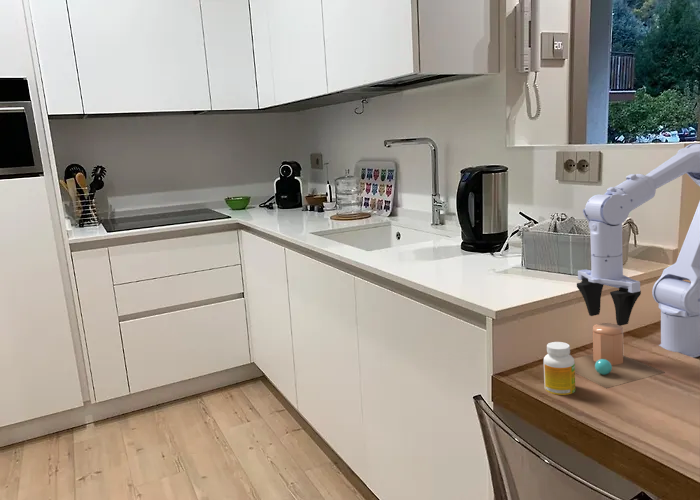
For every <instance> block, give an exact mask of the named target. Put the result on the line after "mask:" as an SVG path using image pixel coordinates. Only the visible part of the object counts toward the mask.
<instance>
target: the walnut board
mask: <svg viewBox="0 0 700 500" xmlns="http://www.w3.org/2000/svg"><path fill="white" fill-rule="evenodd" d="M573 358H574V357H573ZM574 362H575V375H579V376H580V377H582V378H584V379H586V380H587V381H588V380H589V381H590V382H593V383H595V384H597V385H599V386H600V387H603V388H604V389H609V388H613V387H617V386H620V385H624V384H627V383H631V382H635V381H638V380H642V379H646V378H650V377H653V376H657V375H661V374H665V373H666V371H664V370H661V369H658V368H656V367H654V366H651V365H649V364H646V363H643V362H641V361H638V360H636V359H634V358H631V357H628V356H626V355H624V354H623V363H621V364H617V365H612V370H611V372H610V373H609V374H606V375H602V374H599V373H598V372H597V371H596V369H595V363H596V361H593V353H590V354H587V355H583V356H579V357H576V358H574Z"/></svg>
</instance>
